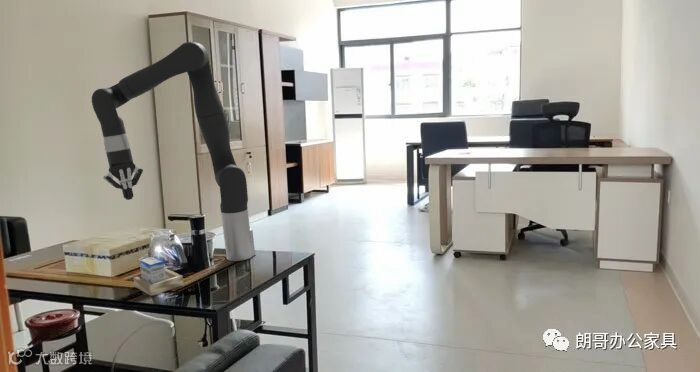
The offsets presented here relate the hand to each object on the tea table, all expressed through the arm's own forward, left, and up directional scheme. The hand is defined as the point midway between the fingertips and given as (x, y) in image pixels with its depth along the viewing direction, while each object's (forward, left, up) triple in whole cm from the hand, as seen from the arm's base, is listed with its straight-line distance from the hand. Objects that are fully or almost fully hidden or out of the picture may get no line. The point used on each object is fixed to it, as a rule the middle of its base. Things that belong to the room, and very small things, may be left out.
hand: (129, 199), depth 179 cm
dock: (+3, +22, -25) cm, 33 cm away
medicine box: (+5, +22, -25) cm, 34 cm away
